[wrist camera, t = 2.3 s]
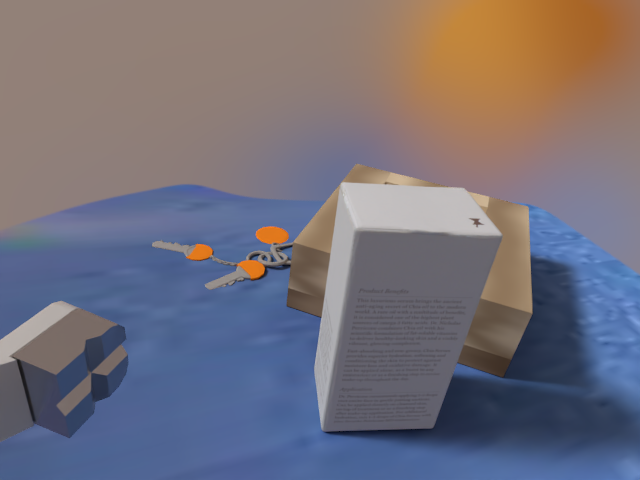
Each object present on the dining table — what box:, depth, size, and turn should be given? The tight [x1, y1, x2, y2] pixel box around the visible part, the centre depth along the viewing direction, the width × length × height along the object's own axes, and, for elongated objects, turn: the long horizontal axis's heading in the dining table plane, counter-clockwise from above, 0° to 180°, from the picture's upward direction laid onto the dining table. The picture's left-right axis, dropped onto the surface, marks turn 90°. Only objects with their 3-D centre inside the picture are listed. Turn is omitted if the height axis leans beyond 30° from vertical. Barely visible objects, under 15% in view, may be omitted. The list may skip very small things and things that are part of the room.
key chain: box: [152, 227, 293, 290], centre depth 36 cm, size 13×7×1 cm, turn 114°
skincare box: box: [314, 182, 503, 432], centre depth 23 cm, size 6×4×12 cm
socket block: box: [287, 164, 533, 377], centre depth 35 cm, size 14×14×5 cm
